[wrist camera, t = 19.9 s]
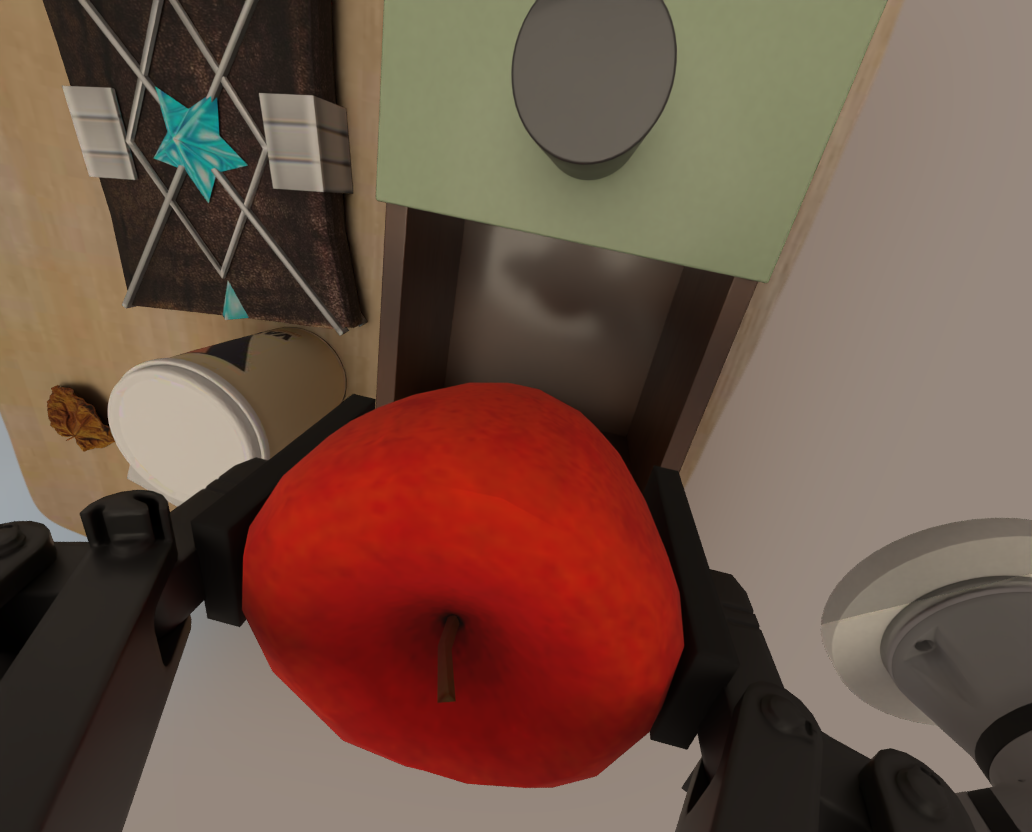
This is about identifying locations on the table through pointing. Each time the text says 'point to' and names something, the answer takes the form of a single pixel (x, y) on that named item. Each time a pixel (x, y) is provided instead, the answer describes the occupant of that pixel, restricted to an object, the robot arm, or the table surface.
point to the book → (216, 152)
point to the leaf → (77, 419)
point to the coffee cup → (222, 406)
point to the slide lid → (619, 118)
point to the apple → (469, 588)
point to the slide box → (556, 327)
